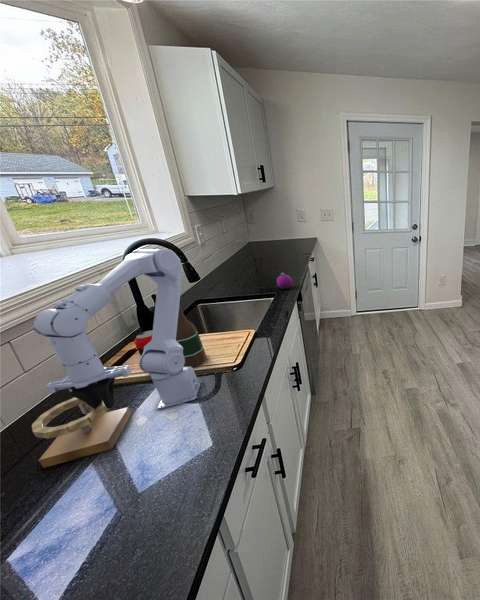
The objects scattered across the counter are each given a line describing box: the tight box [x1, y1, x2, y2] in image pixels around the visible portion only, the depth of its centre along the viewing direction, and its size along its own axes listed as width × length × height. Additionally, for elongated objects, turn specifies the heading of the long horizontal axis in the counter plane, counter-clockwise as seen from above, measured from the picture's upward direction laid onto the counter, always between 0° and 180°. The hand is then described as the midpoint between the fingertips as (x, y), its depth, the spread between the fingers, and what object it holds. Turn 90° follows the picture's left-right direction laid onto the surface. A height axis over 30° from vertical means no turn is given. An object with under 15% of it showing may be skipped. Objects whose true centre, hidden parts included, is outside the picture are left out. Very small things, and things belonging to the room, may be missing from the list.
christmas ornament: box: [276, 271, 293, 290], centre depth 174 cm, size 8×8×10 cm
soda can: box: [133, 329, 162, 357], centre depth 109 cm, size 8×8×12 cm
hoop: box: [31, 397, 111, 440], centre depth 73 cm, size 13×13×2 cm
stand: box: [38, 406, 132, 469], centre depth 79 cm, size 13×13×6 cm
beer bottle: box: [176, 304, 207, 368], centre depth 106 cm, size 8×8×24 cm
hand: (105, 407), depth 75 cm, fingers closed on hoop, 1 cm apart
